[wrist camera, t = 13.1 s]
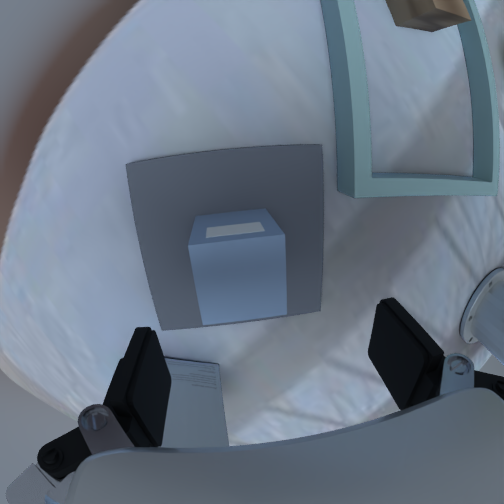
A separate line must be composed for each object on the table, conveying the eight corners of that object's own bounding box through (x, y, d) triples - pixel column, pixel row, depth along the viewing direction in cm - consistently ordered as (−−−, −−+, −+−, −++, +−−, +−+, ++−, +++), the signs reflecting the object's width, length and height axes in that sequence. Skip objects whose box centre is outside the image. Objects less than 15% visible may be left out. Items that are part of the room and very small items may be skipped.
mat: (317, 144, 20) (322, 144, 19) (317, 305, 25) (320, 310, 24) (129, 163, 18) (125, 164, 18) (163, 323, 24) (161, 330, 23)
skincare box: (141, 387, 27) (123, 506, 13) (140, 349, 25) (110, 486, 11) (216, 397, 28) (225, 518, 15) (224, 361, 26) (238, 501, 13)
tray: (453, -9, 13) (468, -14, 10) (478, 189, 23) (497, 196, 20) (306, -60, 12) (315, -76, 9) (337, 190, 21) (354, 198, 18)
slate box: (265, 208, 20) (284, 233, 14) (269, 271, 22) (287, 314, 16) (195, 215, 20) (187, 245, 14) (205, 279, 22) (203, 325, 16)
